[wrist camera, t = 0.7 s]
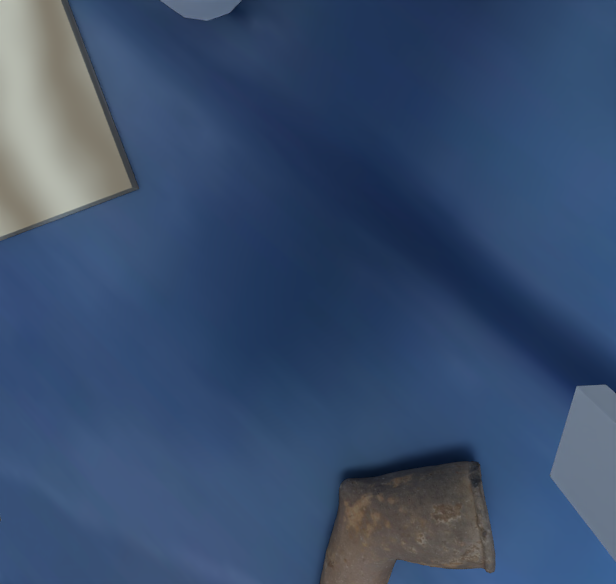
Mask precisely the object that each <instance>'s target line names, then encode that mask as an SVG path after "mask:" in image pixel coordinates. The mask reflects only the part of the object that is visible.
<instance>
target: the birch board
mask: <svg viewBox="0 0 616 584" xmlns="http://www.w3.org/2000/svg"><path fill="white" fill-rule="evenodd" d="M137 189H139V187H138V185H137V182H136V179H135V177H134V174H133V172H132V169H131V166H130V164H129V161H128V158H127V156H126V153H125V150H124V148H123V145H122V143H121V140H120V137H119V135H118V132H117V129H116V127H115V124H114V122H113V119H112V116H111V114H110V111H109V108H108V106H107V103H106V101H105V98H104V95H103V93H102V90H101V87H100V85H99V82H98V79H97V77H96V74H95V72H94V69H93V66H92V64H91V61H90V58H89V56H88V53H87V51H86V48H85V45H84V43H83V40H82V37H81V35H80V32H79V29H78V27H77V24H76V22H75V19H74V16H73V14H72V11H71V8H70V6H69V3H68V1H67V0H0V241H1V240H4V239H7V238H9V237H12V236H15V235H17V234H20V233H22V232H25V231H28V230H30V229H33V228H36V227H38V226H41V225H44V224H46V223H49V222H52V221H54V220H57V219H60V218H62V217H65V216H68V215H70V214H73V213H76V212H78V211H81V210H84V209H86V208H89V207H92V206H94V205H97V204H100V203H102V202H105V201H108V200H110V199H113V198H116V197H118V196H121V195H124V194H126V193H129V192H132V191H134V190H137Z"/></svg>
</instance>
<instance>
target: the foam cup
mask: <svg viewBox="0 0 616 584" xmlns="http://www.w3.org/2000/svg"><path fill="white" fill-rule="evenodd" d="M160 1H161V2H163V3H164V4H166V5H167V6H169V7H170V8H171V9H173V10H174V11H176V12H177V13H179V14H180V15H181V16H183V17H184V18H191V19H198V20H205V21H208V20H211V19H214V18H217V17H220V16H222V15H225V14H228V13H230V12H231V11H232V10H233V9H234V8H235V7H236V6H237V5H238V4H239V3H240V2H241V1H242V0H160Z"/></svg>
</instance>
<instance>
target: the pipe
mask: <svg viewBox="0 0 616 584" xmlns="http://www.w3.org/2000/svg"><path fill="white" fill-rule="evenodd" d="M396 560H404V561H408V562H412V563H418V564H420V565H428V566H430V567H440V568H446V569H473V568H483V569H485V570H486V572H489V573H492V572H494V571H495V550H494V542H493V537H492V531H491V525H490V521H489V516H488V510H487V506H486V502H485V496H484V491H483V486H482V481H481V470H480V464H479V463H478V462H474V461H471V462H468V461H462V462H454V463H447V464H441V465H436V466H426V467H421V468H414V469H408V470H402V471H397V472H393V473H388V474H385V475H381V476H377V477H370V478H348V479H345V480H344V481H343V482H342V483H341V485H340V489H339V507H338V514H337V518H336V520H335V524H334V527H333V531H332V534H331V537H330V541H329V545H328V548H327V550H326V555H325V561H324V565H323V570H322V575H321V580H320V584H387V583H388V580H389V578H390V575H391V572H392V569H393V567H394V564H395V562H396Z"/></svg>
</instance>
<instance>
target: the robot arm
mask: <svg viewBox="0 0 616 584" xmlns="http://www.w3.org/2000/svg"><path fill="white" fill-rule="evenodd" d="M550 477H551V478H552V479H553V481H554V482H555V483H556V485H557V486H558V487H559V489H560V490H561V491H562V492H563V494H564V495H565V496H566V498H567V499H568V500H569V502H570V503H571V504H572V505H573V507H574V508H575V509H576V511H577V512H578V513H579V515H580V516H581V517H582V518H583V520H584V521H585V522H586V524H587V525H588V526H589V528H590V529H591V530H592V531H593V533H594V534H595V535H596V537H597V538H598V539H599V541H600V542H601V543H602V544H603V546H604V547H605V548H606V550H607V551H608V552H609V554H610V555H611V556H612V557H613V559H614V560H615V561H616V393H615V392H613V391H612V390H611V389H610V388H609V387H608V386H607V385H590V386H577V387H576V390H575V394H574V397H573V400H572V404H571V407H570V410H569V414H568V417H567V420H566V424H565V427H564V430H563V434H562V437H561V440H560V444H559V447H558V450H557V454H556V457H555V460H554V464H553V467H552V470H551V474H550ZM0 521H1V518H0Z"/></svg>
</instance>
